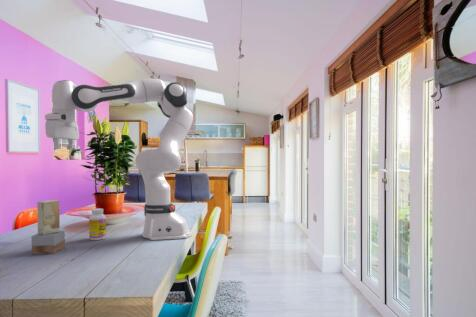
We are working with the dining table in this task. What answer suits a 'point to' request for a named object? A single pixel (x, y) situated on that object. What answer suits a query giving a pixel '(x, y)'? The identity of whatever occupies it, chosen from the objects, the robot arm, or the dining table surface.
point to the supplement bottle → (97, 225)
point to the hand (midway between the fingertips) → (63, 149)
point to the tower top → (48, 239)
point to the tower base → (48, 248)
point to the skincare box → (48, 217)
